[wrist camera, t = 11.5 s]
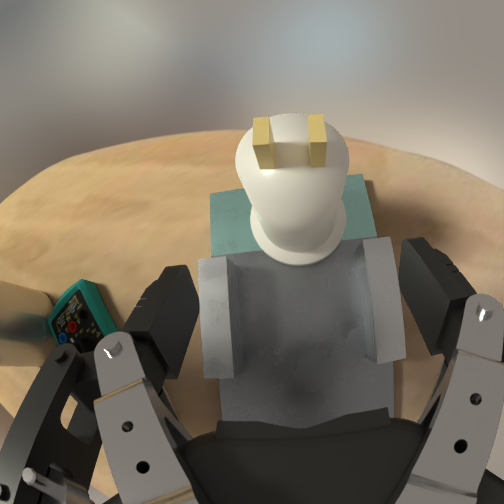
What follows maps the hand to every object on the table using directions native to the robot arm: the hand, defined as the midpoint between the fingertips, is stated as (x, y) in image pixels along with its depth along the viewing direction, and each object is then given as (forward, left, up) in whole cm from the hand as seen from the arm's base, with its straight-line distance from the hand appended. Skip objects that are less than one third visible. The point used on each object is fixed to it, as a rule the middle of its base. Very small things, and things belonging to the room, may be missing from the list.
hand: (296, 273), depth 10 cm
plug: (0, +6, -10) cm, 12 cm away
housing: (0, -1, -11) cm, 12 cm away
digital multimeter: (-19, -4, -12) cm, 23 cm away
